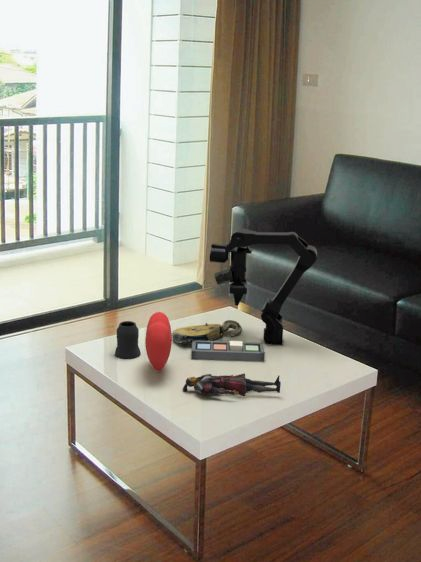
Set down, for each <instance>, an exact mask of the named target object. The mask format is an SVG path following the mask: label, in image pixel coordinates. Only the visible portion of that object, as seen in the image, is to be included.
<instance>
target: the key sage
mask: <svg viewBox="0 0 421 562" xmlns="http://www.w3.org/2000/svg"><path fill="white" fill-rule="evenodd" d="M245 352H259V350H258V346H251V345H245Z"/></svg>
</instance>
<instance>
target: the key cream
mask: <svg viewBox="0 0 421 562" xmlns="http://www.w3.org/2000/svg"><path fill="white" fill-rule="evenodd" d="M229 342H230V347H229V348H230V351H242V348H243V344H242V342H243V341H242V340H229Z"/></svg>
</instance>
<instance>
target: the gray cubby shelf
mask: <svg viewBox="0 0 421 562" xmlns="http://www.w3.org/2000/svg"><path fill="white" fill-rule="evenodd" d="M198 344H210V350H197V347H198ZM214 344H221V345H226V351H215V350H213V349H214ZM242 344H243V348H242V351H230V348H229V347H230V341H223V340H209V341H197V340H193V342H192V344H191V355H190V356H191V359H190V360H204V361H205V360H207V361H233V362H236V361H238V362H239V361H240V362H263V363H265V356H266V355H265V347H264V343H263V342H256V341H255V342H253V341H251V342H250V341H244V342H243V341H242ZM245 345H251V346H258V350H259V352H245Z"/></svg>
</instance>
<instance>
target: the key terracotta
mask: <svg viewBox="0 0 421 562" xmlns="http://www.w3.org/2000/svg"><path fill="white" fill-rule="evenodd" d="M213 350H215V351H226V345H221V344H214V349H213Z"/></svg>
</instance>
